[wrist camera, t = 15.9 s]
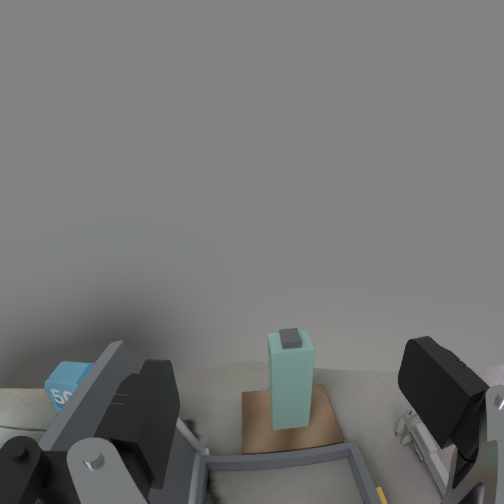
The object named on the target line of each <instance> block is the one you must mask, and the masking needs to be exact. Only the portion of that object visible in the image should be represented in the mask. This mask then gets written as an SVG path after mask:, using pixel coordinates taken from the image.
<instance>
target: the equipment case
mask: <svg viewBox="0 0 504 504" xmlns="http://www.w3.org/2000/svg"><path fill="white" fill-rule="evenodd" d="M132 373H137V374H139V373H140V369H139V367H138V365H137V364H136V362H135V361H134V358H133V357H132V355H131V353H130V351H129V349H128V348H127V346H126V344H125V342H124V340H122V341H117V342H113V343H110V344H109V346H108V347H107V348H106V349H105V351H104V352H103V353H102V355H101V356H100V357H99V359H98V360H97V361H96V362H95V364H94V365H93V366H92V368H91V369H90V370H89V372H88V373H87V374H86V376H85V377H84V378H83V380H82V381H81V383H80V384H79V385H78V387H77V388H76V389H75V391H74V392H73V393H72V395H71V396H70V398H69V399H68V400H67V402H66V403H65V405H64V406H63V407H62V409H61V410H60V412H59V413H58V415H57V416H56V417H55V419H54V420H53V422H52V423H51V425H50V426H49V428H48V429H47V431H46V432H45V434H44V435H43V437H42V438H41V440H40V441H39V443H38V445H39V446H40V448H41V449H42V450H43V451H69V449H70V448H71V447H72V446H73V445H74V444H75V443H76V442H78V441H80V440H83V439H86V438H92V437H93V436H94V434H95V432H96V430H97V428H98V426H99V424H100V422H101V420H102V418H103V416H104V414H105V412H106V410H107V408H108V406H109V404H111V400H112V398H113V397H114V395H116V391H117V389H118V387H119V385H120V383H121V382H122V381H123V380H124V379H125V378H127V377H128V376H129V375H130V374H132ZM188 442H189V443H190V444H191V445H190V444H189V443H188ZM191 446H192V447H193V448H194V449H195V451H194V449H193V448H192V447H191ZM347 457H348V460H349V463H350V466H351V468H352V471H353V474H354V477H355V480H356V482H357V485H358V488H359V491H360V494H361V496H362V499H363V502H364V504H387V501H386V499H385V496H384V494H383V492H382V489H381V487H378V488H376V487H375V485H374V482H373V480H372V477H371V475H370V473H369V470H368V468H367V465H366V463H365V460H364V458H363V456H362V453H361V451H360V448H359V446H358V444H357V441H356V440H355V441H351V442H346V443H341V444H336V445H331V446H325V447H319V448H313V449H306V450H298V451H290V452H281V453H269V454H254V455H211V454H210V450H209V448H205V447H204V446H203V445H202V444H201V443H200V442H199V441H198V440H197V439H196V437H195V436H194V435H193V434H192V433H191V432H190V430H189V429H188V428H187V427H186V426H185V424H184V423H183V422H182V421H181V420H180V418H179V417H178V420H177V424H176V428H175V433H174V437H173V442H172V447H171V451H170V456H169V460H168V465H167V470H166V475H165V480H164V485H163V490H161V489H153V488H150V492H149V496H148V500H149V501H150V503H151V504H205V503H206V491H207V481H208V470H212V471H239V470H262V469H275V468H285V467H294V466H302V465H309V464H315V463H321V462H327V461H332V460H337V459H342V458H347ZM35 504H37V501H36V503H35Z"/></svg>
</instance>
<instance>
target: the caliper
mask: <svg viewBox="0 0 504 504" xmlns="http://www.w3.org/2000/svg"><path fill="white" fill-rule="evenodd" d="M419 419H420V417H419V416H418V415H417V413H416V411H415V410H414V408H412V409H410V410H407V411H406V412H405V414H404V415H403V416H402V418H401V419H400V422H399V424H398V427H397V429H396V432H395V435H396V436H399V435H401V434H403V433H404V431H405V430H406V429H408V431H409V433H408V434H407V435H406V436H405V437H404V439H403V440H402V442H401V444H402V445H405V444H407V443H409V442H411V441H412V442H413V444H414V448H415V451H416V454H417V455H418V456H419V459H420V462H423V461H425V463H426V465H427V467H428V468H429V470H430V472H431V474H432V476H433V478H434V480H435V482H436V484H437V486H438V488H439V490H440V492H441V494H442V496H443V498H444V496H445V492H446V488H447V483H448V478H449V474H448V472H447V470H446V468H445V466H444V465H443V463H442V461H441V459H440V457H439V456H438V454H437V452H436V451H437V450H438V449H437V447H436V446H435V444H434V442H433V440H432V438H431V437H430V435H429V433H428V431H427V430H426V428H425V426H424V424H423V423H422V422H419V421H420V420H419Z"/></svg>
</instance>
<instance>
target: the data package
mask: <svg viewBox="0 0 504 504" xmlns="http://www.w3.org/2000/svg"><path fill="white" fill-rule="evenodd" d="M93 365H94V364H92V363H79V362H67V361H64V362H61V363H60V364H59V365H58V367H57V368H56V369H55V370H54V372H53V373H52V374H51V375H50V377H49V378H48V380H47V381H46V382H45V389H46V392H47V394H48V396H49V398H50V400H51V402H52V404H53V406H54V407H55V409H56V411H57V413H59V412H60V410H61V409H62V407H63V406H64V405H65V403H66V402H67V400H68V399H69V398H70V396H71V395H72V393H73V392H74V391H75V389H76V388H77V387H78V385H79V384H80V383H81V381H82V380H83V378H84V377H85V376H86V374H87V373H88V372H89V370H90V369H91V368H92V366H93ZM140 371H141V370H140Z"/></svg>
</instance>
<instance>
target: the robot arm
mask: <svg viewBox="0 0 504 504" xmlns="http://www.w3.org/2000/svg"><path fill="white" fill-rule="evenodd" d="M398 384H399V388H400V390H401V392H402V393H403V394H404V396H405V397H406V399H407V400H408V401H409V403H410V404H411V406H412V407H413V408H414V410H415V411H416V413H417V414H418V416H419V417H420V418H421V420H422V421H423V423H424V424H425V426H426V427H427V429H428V430H429V431H430V433H431V434H432V436H433V437H434V439H435V440H436V442H437V443H438V445H439V446H440V448H441V449H444V448H446V447H448V446H450V445H452V444H455V445H456V448H455V449H454V451H453V455H452V461H451V467H450V473H449V478H448V483H447V488H446V492H445V496H444V498H443V500H442V502H441V504H504V385H495V386H492V387H489V386H488V385H487V384H486V383H485V382H484V381H483V380H482V379H481V378H480V377H479V376H478V375H476V374H475V373H474V372H473V371H472V370H471V369H470V368H469V367H466V364H464V363H463V362H462V361H460V359H459V358H458V357H457V356H456V355H454V354H453V353H452V352H451V351H449V350H447V349H445V348H443V347H441V346H440V345H438V344H437V343H436V342H435V341H434V340H433V339H432V338H430V337H429V336H424V337H419V338H415V339H410V340H409V341H408V342H407V344H406V347H405V351H404V355H403V359H402V363H401V367H400V370H399V374H398ZM179 409H180V402H179V394H178V390H177V386H176V381H175V377H174V372H173V368H172V364H171V362H170V360H153V359H147V360H146V361H145V363H144V365H143V367H142V369H141V371H140V373H139V374H137V373H132V374H130V375H129V376H128V377H127V378H125V379H124V380H123V381H122V382H121V383H120V385H119V387H118V389H117V391H116V395H114V397H113V398H112V400H111V404H109V406H108V408H107V410H106V412H105V414H104V416H103V418H102V420H101V422H100V424H99V426H98V428H97V430H96V432H95V434H94V436H93V437H92V438H86V439H83V440H80V441H78V442H76V443H75V444H74V445H73V446H72V447H71V448H70V449H69V451H43V450H42V449H41V448H40V446H39V445H38V443H37V442H36V441H35V440H34V439H32V438H30V437H27V436H17V437H14V438H12V439H10V440H8V441H7V442H6V443H5V444H4V445H3V447H2V448H1V450H0V504H35V503H36V501H37V504H151V503H150V501H149V500H148V496H149V492H150V488H153V489H161V490H163V485H164V480H165V475H166V470H167V465H168V460H169V456H170V451H171V447H172V442H173V437H174V433H175V428H176V424H177V420H178V415H179Z"/></svg>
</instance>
